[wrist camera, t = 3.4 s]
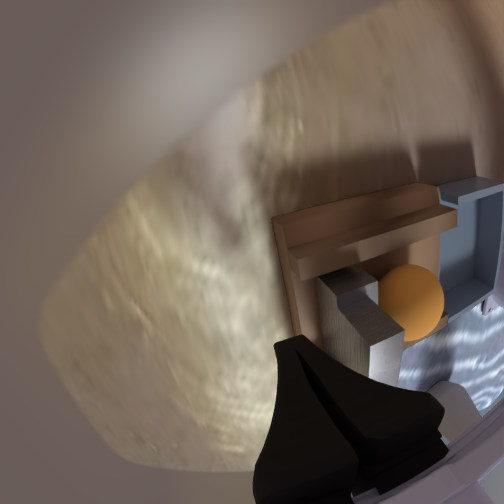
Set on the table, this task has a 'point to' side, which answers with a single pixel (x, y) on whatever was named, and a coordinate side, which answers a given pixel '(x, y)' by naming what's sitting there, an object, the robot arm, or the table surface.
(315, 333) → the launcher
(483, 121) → the table surface
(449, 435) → the salt shaker
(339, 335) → the grey stepped block
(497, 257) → the blue-grey open tray
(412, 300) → the ball
